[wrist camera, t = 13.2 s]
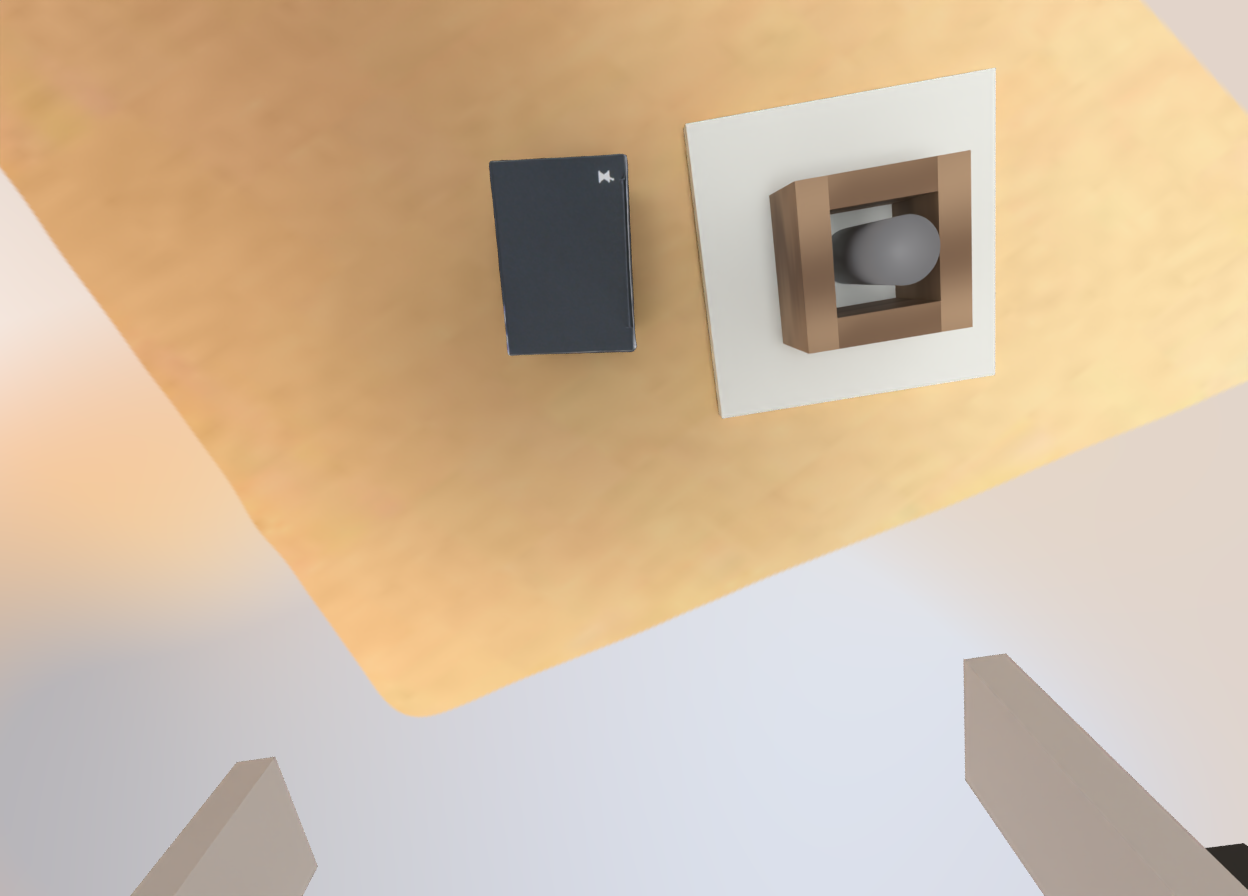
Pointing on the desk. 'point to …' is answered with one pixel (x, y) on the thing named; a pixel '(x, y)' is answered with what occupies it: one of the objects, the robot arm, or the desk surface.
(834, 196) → the collar
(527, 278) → the box
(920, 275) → the thin white baseboard
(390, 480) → the desk surface
